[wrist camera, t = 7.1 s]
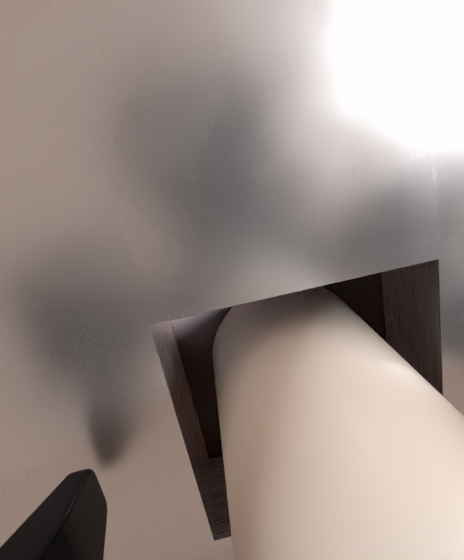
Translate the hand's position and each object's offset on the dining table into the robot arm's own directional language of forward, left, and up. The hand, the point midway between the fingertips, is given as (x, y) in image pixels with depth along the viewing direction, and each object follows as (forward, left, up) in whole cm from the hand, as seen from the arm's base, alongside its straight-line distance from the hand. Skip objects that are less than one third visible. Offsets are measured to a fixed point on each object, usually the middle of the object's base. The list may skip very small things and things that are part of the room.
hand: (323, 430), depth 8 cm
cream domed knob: (0, 0, -3) cm, 3 cm away
